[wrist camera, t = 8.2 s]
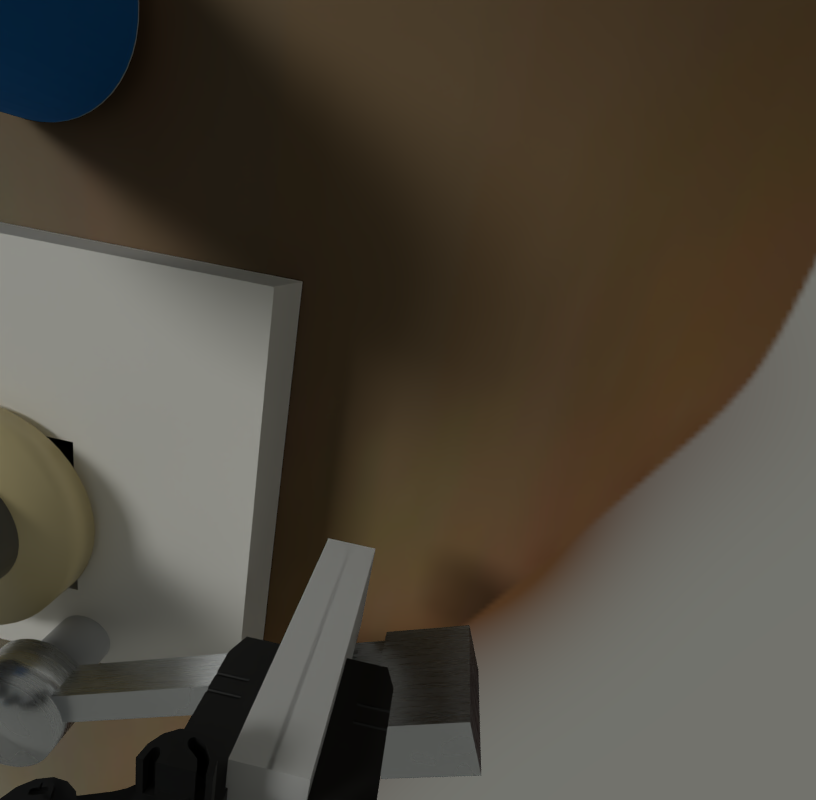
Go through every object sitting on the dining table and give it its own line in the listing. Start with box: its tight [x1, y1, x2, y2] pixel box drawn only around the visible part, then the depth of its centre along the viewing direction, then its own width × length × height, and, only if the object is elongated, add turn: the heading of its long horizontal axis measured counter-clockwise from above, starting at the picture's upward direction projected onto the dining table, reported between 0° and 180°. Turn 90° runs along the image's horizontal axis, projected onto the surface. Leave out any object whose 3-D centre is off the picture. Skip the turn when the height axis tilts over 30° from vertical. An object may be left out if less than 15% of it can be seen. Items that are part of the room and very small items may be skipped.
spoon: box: [0, 625, 481, 779], centre depth 14 cm, size 3×16×3 cm, turn 101°
